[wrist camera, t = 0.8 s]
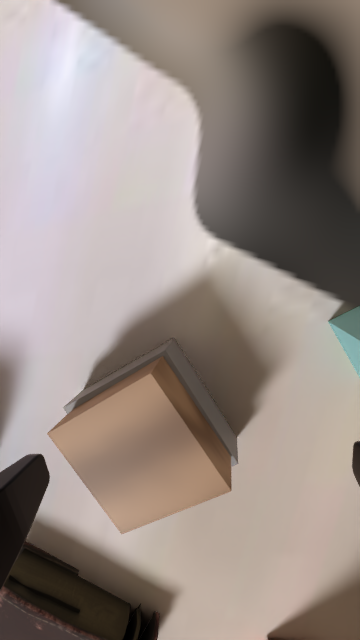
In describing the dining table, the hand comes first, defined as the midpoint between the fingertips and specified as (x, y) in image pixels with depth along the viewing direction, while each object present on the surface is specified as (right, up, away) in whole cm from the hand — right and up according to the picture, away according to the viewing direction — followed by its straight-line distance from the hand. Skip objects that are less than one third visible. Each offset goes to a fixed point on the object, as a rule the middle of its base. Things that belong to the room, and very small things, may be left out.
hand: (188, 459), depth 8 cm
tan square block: (-3, -5, +12) cm, 14 cm away
